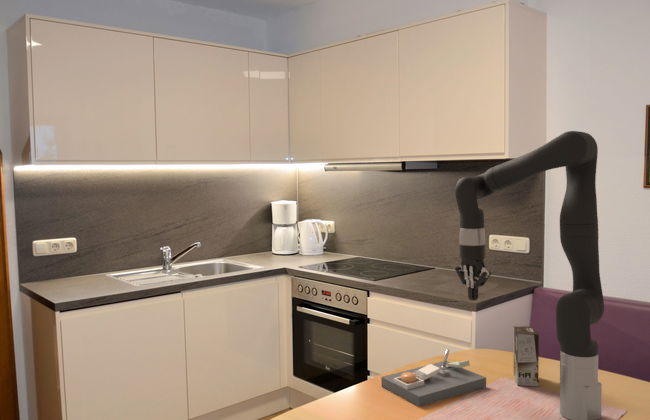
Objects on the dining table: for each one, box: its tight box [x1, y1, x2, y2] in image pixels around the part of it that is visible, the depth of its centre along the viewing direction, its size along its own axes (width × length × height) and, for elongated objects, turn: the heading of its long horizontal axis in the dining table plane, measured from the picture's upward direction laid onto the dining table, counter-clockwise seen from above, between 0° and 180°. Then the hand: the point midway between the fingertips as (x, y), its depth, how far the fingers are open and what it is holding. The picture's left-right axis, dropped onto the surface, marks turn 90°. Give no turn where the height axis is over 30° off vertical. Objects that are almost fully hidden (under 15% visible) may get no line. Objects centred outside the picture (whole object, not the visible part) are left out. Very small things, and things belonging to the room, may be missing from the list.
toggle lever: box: [441, 348, 450, 371], centre depth 172 cm, size 1×1×7 cm
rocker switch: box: [413, 363, 440, 380], centre depth 168 cm, size 4×7×1 cm, turn 120°
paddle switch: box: [448, 359, 470, 368], centre depth 175 cm, size 6×4×2 cm, turn 30°
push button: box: [401, 372, 416, 384], centre depth 165 cm, size 4×4×2 cm
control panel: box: [380, 360, 487, 408], centre depth 169 cm, size 18×26×4 cm
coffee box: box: [512, 325, 540, 387], centre depth 172 cm, size 9×6×16 cm
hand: (473, 299), depth 168 cm, fingers closed
